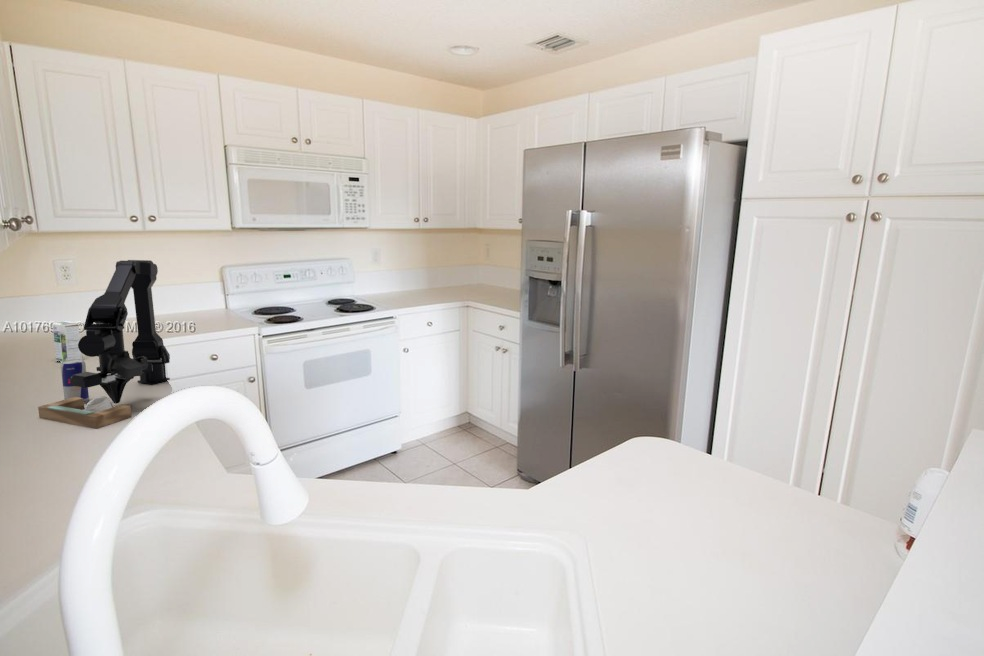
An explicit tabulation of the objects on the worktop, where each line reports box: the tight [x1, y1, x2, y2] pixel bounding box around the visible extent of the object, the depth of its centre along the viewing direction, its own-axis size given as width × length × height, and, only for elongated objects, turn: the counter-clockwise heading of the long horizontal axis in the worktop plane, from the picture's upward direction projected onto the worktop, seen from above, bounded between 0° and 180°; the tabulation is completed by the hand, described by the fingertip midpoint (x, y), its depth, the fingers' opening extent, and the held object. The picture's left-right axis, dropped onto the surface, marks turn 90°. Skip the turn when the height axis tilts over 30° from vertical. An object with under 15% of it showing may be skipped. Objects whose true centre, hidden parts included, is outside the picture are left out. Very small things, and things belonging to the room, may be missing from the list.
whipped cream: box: [84, 396, 116, 413], centre depth 134 cm, size 8×7×5 cm
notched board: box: [37, 397, 132, 429], centre depth 131 cm, size 9×20×3 cm, turn 73°
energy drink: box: [60, 358, 90, 404], centre depth 141 cm, size 5×5×12 cm
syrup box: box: [52, 321, 83, 363], centre depth 183 cm, size 6×6×14 cm
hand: (116, 403), depth 139 cm, fingers closed
